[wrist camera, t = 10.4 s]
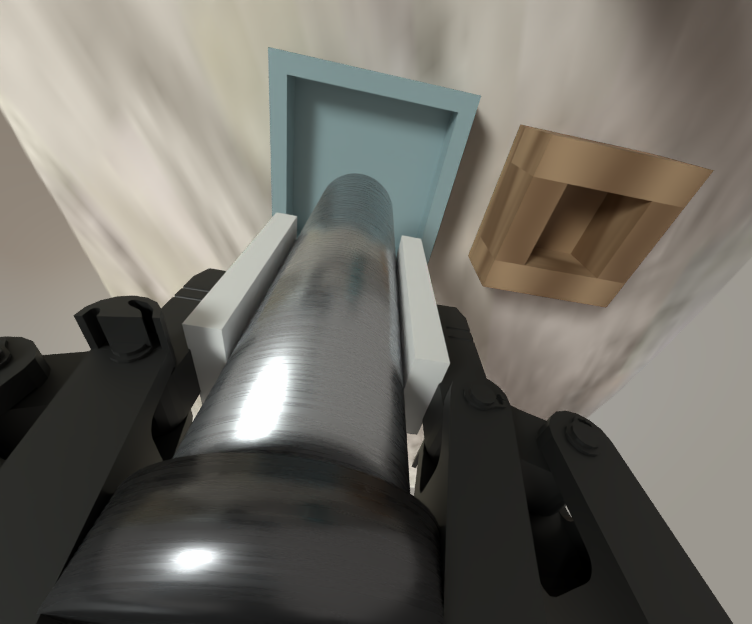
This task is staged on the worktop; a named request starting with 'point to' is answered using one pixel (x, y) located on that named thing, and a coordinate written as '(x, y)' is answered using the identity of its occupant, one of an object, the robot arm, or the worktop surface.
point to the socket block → (577, 216)
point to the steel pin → (283, 463)
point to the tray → (364, 139)
